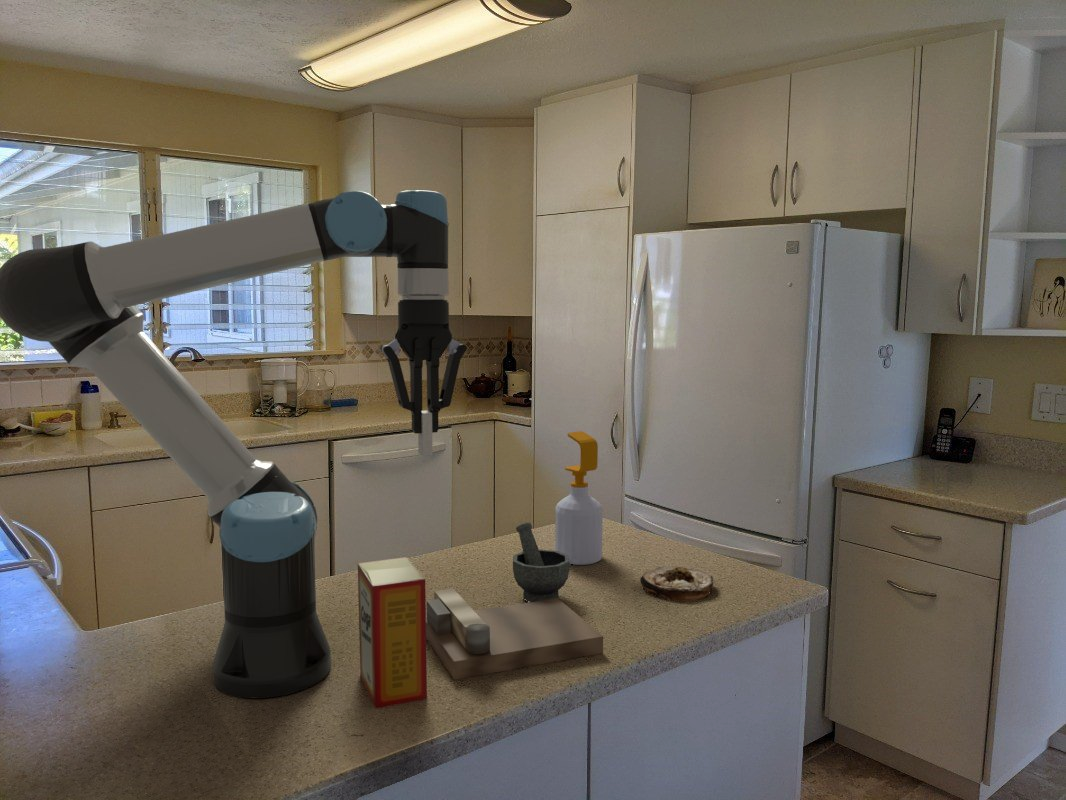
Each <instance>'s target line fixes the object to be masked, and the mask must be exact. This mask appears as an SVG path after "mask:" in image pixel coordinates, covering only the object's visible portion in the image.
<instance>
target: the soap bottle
mask: <svg viewBox="0 0 1066 800" xmlns="http://www.w3.org/2000/svg"><path fill="white" fill-rule="evenodd" d="M567 436H568V438H570V439H571V440H573V441H574V442H576V443H577V444H578V445H579V447H580V464H577V465H571V466H565V467H564V468H565V469H564V470H565V471H568V472H571V475H572V476H573V477H574V481H571V482H570V493H569V495H567V496H565V497H564V498H562V499H561V500H559V502H557V504H556V506H555V518H554V520H555V525H554V526H555V527H554V528H555V537H554V540H555V541H554V543H555V544H554V549H555V550H554V551H559V552H561V553H564V554H566V555H569V561H570V565H571V564H573V566H588V565H593V564H596V563H598V562H600V561H601V560H602V558H603V528H604V527H603V526H604V525H603V524H604V522H603V518H604V517H603V516H604V513H603V511H604V509H603V507H602V505H601V502H599V501H598V500H597V499H596V498H594V497H592V496H591V495H589V485H588V484H589V483H588V482H587V481H585V480H584V479H585V476H587V472H590V471H595V470H597V468H598V458H599V457H598V450H599V449H598V448H599V447H598V446H599V445H598V442H597V440H596V439H595V438H594V437H593V436H591V435H590V434H588V433H587V432H584V431H582V430H581V431H580V430H578V431H577V430H576V431H572V432H571V431H570V432H567Z"/></svg>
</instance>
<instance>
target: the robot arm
mask: <svg viewBox="0 0 1066 800" xmlns="http://www.w3.org/2000/svg"><path fill="white" fill-rule="evenodd" d="M447 205H448V203H447V198H446V196H445V195H444V194H443V193H441V192H438V191H433V190H418V189H417V190H404V191H403V190H402V191H399V192H398V193H397V194H396V198H395V202H394V204H382V203H380V202H379V200H378V199H377V198H376V197H374V196H373V195H371V194H370V193H368V192H365V191H360V190H349V191H345V192H341V193H339V194H338V195H336V196H335V197H331V198H330V197H329V198H326V199H321V200H317V201H314V202H309V203H308V202H306V203H302V204H298V205H292V206H288V207H285V208H284V207H283V208H279V209H275V210H270V211H266V212H261V213H256V214H251V215H248V216H242V217H237V218H234V219H233V218H232V219H229V220H224V221H219V222H215V223H210V224H209V223H208V224H204V225H201V226H196V227H192V228H187V229H183V230H182V229H181V230H177V231H173V232H168V233H165V234H159V235H154V236H151V237H145V238H142V239H137V240H131V241H127V242H122V243H119V244H118V243H117V244H113V245H109V246H101V245H99V244H98V243H96V242H94V241H91V240H90V241H85V242H81V243H76V244H71V245H65V246H58V247H57V246H56V247H43V248H34V249H28V250H25V251H22V252H19V253H16V254H15V255H13V256H12V257H10V258H9V259H7V260H5V262H4V263H3V264H2V265H1V266H0V319H1V321H3V323H4V324H5V325H6V326H7V327H9V328H10V329H11V330H12V331H14V332H15V333H17V334H19V335H20V336H23V337H25V338H27V339H30V340H33V341H37V342H47V343H49V344H50V345H51V346H52V347H53V349H54V350H55V351H56V352H57V353H58V354H59V355H60V356H61V357H62V358H63V359H64V360H65V362H66V363H68V365H69V366H70V367H74V368H83V369H87V370H90V371H91V373H93V374H94V376H95V377H96V378H97V379H98V380H99V381H100V382H101V383H102V384H103V385H104V386H105V388H107V390H108V391H109V392H110V393H111V394H112V395H113V396H114V397H115V398H116V400H118V402H119V403H120V404H121V405H122V406H123V407H124V408H125V410H127V412H129V414H130V416H132V417H133V418H134V419H135V420H136V422H138V424H139V425H140V426H142V428H143V429H144V430H145V431H146V432H147V433H148V434H149V436H150V437H151V438H152V439H153V440H154V441H155V442H156V443H157V445H159V446H160V448H161V449H162V450H163V451H164V452H165V453H166V454H167V455H168V457H170V458H171V459H172V461H173V462H174V463H175V464H176V465H177V466H178V467H179V468H180V470H181V471H183V472H184V474H185V475H186V476H187V477H188V479H190V480H191V481H192V483H193V484H194V485H195V486H196V487H197V488H198V489H199V490H200V491H201V492H202V493H203V495H205V497H206V498H207V499H208V500H207V501H208V505H207V506H208V507H207V515H208V516H209V518H210V519H211V520H212V522H214V523H215V524H216V525H217V527H219V531H218V532H219V533H218V535H219V539H220V544H221V560H222V561H221V563H222V583H223V584H222V586H223V589H222V590H223V606H224V607H223V608H224V623H223V624H224V625H223V627H222V631H221V634H220V638H219V642H218V645H217V648H216V652H215V654H214V655H215V656H214V658H213V662H212V677H213V679H212V680H213V684H214V686H215V687H216V689H217V690H218V691H220V692H221V693H223V694H226V695H229V696H232V697H236V698H244V699H267V698H273V697H274V698H276V697H281V696H286V695H291V694H295V693H297V692H299V691H303V690H305V689H308V688H310V687H312V686H314V685H317V683H319V682H321V681H322V680H323V679H324V678H326V676H327V675H329V673H330V671H331V669H332V656H331V647H330V645H329V642H328V640H327V637H326V633H325V631H324V629H323V626H322V624H321V621H320V618H319V616H318V613H317V600H316V598H317V596H316V595H317V594H316V592H317V591H316V561H315V558H316V557H315V556H316V555H315V551H316V550H315V545H316V544H315V543H316V533H317V528H318V527H317V526H318V513H317V508H316V506H315V503H314V501H313V499H312V498H311V496H310V495H309V493H308V492H307V491H306V490H305V488H303V487H302V486H301V485H299V484H298V483H295V482H293V481H292V480H289V478H288V477H287V476H286V474H284V472H283V471H282V470H281V469H280V468H279V467H278V466H277V465H276V464H275V462H273V461H269V460H260V459H257V458H256V457H255V456H254V455H253V454H252V453H251V452H250V450H249V449H248V448H247V447H246V445H244V444H243V442H242V441H241V440H240V439H239V438H238V436H236V434H234V432H233V431H232V430H231V429H230V428H229V426H228V425H227V424H226V423H225V422H224V421H223V420H222V419H221V418H220V416H219V415H218V414H217V413H216V411H214V409H213V408H212V407H211V406H210V405H209V404H208V403H207V401H206V400H205V399H204V398H203V397H202V396H201V395H200V394H199V393H198V391H197V390H196V389H195V388H194V387H193V386H192V385H191V383H189V381H188V380H187V379H186V378H185V377H184V376H183V374H182V373H181V372H180V371H179V370H178V369H177V367H175V366H174V365H173V363H172V362H171V360H169V358H168V357H167V356H166V355H165V354H164V353H163V352H162V351H161V350H160V349H159V347H158V346H157V345H156V344H155V343H154V342H153V341H152V340H151V338H150V337H149V336H148V335H147V333H145V331H144V328H143V327H144V326H143V325H144V318H145V314H144V313H143V312H142V311H141V310H140V308H138V307H137V305H142V304H147V303H151V302H155V301H159V300H163V299H168V298H172V297H176V296H180V295H185V294H190V293H193V292H197V291H202V290H206V289H212V288H215V287H219V286H224V285H228V284H233V283H236V282H237V283H238V282H241V281H244V280H248V279H253V278H257V277H258V278H259V277H262V276H265V275H270V274H275V273H279V272H284V271H287V270H291V269H292V270H293V269H296V268H300V267H303V266H308V265H313V264H318V263H321V262H325V261H332V260H336V259H339V258H341V259H342V258H344V257H345V258H373V257H375V258H380V257H383V258H384V257H386V258H396V259H397V260H396V261H397V295H398V296H399V297H401V299H399V300H398V302H397V316H398V317H397V318H398V319H397V320H398V321H397V322H398V323H397V325H398V327H397V331H396V333H395V336H394V339H393V340H392V341H390V342H389V343H388V344H384V345H382V346H380V352H381V353H382V354H383V356H384V357H385V359H386V361H387V363H388V367H389V371H390V375H391V378H392V379H391V380H392V383H393V386H394V387H393V388H394V390H395V394H396V398H397V402H398V405H399V407H401V408H403V409H405V410H407V411H409V412H410V413H411V430H412V432H413V433H414V434H416V435H418V437H417V438H418V440H417V444H418V446H417V447H418V454H420V455H421V456H422V457H427V456H429V457H432V456H433V455H434V452H433V451H434V450H433V448H434V447H433V433H438V432H439V412H440V411H441V410H442V409H444V408H449V407H450V405H451V403H452V400H453V399H452V398H453V395H454V390H455V384H456V381H457V378H458V377H457V376H458V372H459V366H460V362H461V360H462V358H463V356H464V355H465V353H466V351H467V346H466V344H464V343H459V341H457V340H456V339H454V338H453V334H452V332H451V330H450V314H449V313H450V311H449V310H450V308H449V307H450V304H449V303H450V302H448V299H446V297H448V295H450V294H449V293H450V292H449V291H450V290H449V289H450V287H449V285H450V284H449V282H450V281H449V226H450V223H449V218H448V206H447ZM399 348H400V349H401V350H402V351H403V352H404V354H405V355H406V357H407V358H408V359H409V360H408V361H409V363H408V364H409V373H410V375H409V379H410V382H409V387H410V388H409V389H410V394H408V393H409V392H408V389H407V384H406V382H405V378H404V373H403V370H402V365H401V363H400V359H399V357H398V356H399V354H400V350H399ZM447 348H448V350H447V351H448V354H449V355H448V358H447V360H446V361H447V362H446V367H445V370H444V375H443V379H442V384H441V388H440V382H439V381H440V376H439V375H440V373H439V368H440V358H441V357H442V355H443V354H444V352H445V351H446V349H447ZM424 361H425V366H426V398H427V399H426V401H427V402H426V405H427V410H423V365H424ZM409 395H410V396H409Z"/></svg>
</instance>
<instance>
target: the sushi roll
mask: <svg viewBox="0 0 1066 800" xmlns="http://www.w3.org/2000/svg"><path fill="white" fill-rule="evenodd" d="M640 584H641V588H642V587H643V589H642V590H643V591H644V590H646V591H645V592H647V591H648V592H647V593H648V594H649V593H650V594H649V595H652V594H653V595H652V596H653V598H655V597H659V596H660V598H663V597H665V598H664V599H667V598H669V599H667V601H668V600H669V601H673V600H676V601H679V600H680V601H679V602H682V601H683V600H684V601H683V602H686V601H685V600H690V601H695V600H694V599H696V600H700V599H703V598H702V597H704V598H705V597H709V598H711V595H710V594H711V593H709V592H710V589H711V590H712V588H713V586H714V577H713V576H712V575H710V574H709V573H707V572H706V571H704V570H703V571H702V570H700V569H696V568H695V569H694V568H690V567H686V566H683V567H682V566H675V565H665V566H660V567H656V568H653V569H651V570H647V571H646V572H644V573H643V575H642V576H641V577H640ZM654 595H656V596H654ZM707 595H708V596H707ZM669 601H668V602H669Z"/></svg>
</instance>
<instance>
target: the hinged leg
mask: <svg viewBox="0 0 1066 800" xmlns="http://www.w3.org/2000/svg"><path fill="white" fill-rule="evenodd" d="M433 596H434V597H433V600H435V599H439V600H440V601H441V602H442V603H443V605H444V606H445V607H446V608H447V609H448V611H449V612H450V613H451V631H452V632H453V634H454V635H455V636H456V637H457V639H458V640H459V641H460V642H461V644H462V645H463V646H464V647H465V648H466V650H467V652H468V653H471V654H484V653H487V652H489V650H490V627H489V626H488V625H486V623H485V622H484V621H483V620H482V619H481V618H480V617H479V616H478V615H477V614H476V613H475V611H474V609H473V608H472V607H471V606H470V605H469V604H468V603H467V602H466V600H465V599H464V598H462V596H461V595H460V594H459V592H457V591H456V589H455V588H446V589H439V590H434V592H433Z"/></svg>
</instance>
